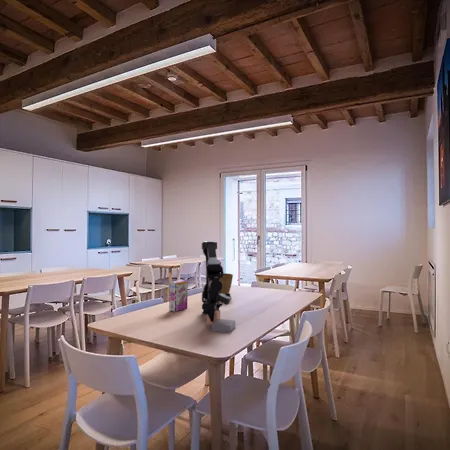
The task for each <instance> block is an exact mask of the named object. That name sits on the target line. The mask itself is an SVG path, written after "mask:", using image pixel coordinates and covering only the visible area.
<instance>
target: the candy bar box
mask: <svg viewBox="0 0 450 450" xmlns="http://www.w3.org/2000/svg"><path fill="white" fill-rule="evenodd" d="M188 288H189V281H188V280H186V279H179V280H176V281H175V280H174V281H170V282H169V297H168V298H169V305H168V311H169V312H173V313H177V312H179V311H180V312H181V311H183V310H186V309H188V291H189V290H188Z"/></svg>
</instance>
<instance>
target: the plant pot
mask: <svg viewBox="0 0 450 450" xmlns="http://www.w3.org/2000/svg"><path fill="white" fill-rule="evenodd" d="M223 273H224V272H223ZM220 276H221V273H220ZM233 278H234V274H233V273H224V275H223V278H220V281H221V283H222V289H221V293H222V294H227V293H230V291H231V287H232V282H233Z"/></svg>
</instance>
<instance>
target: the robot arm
mask: <svg viewBox="0 0 450 450" xmlns="http://www.w3.org/2000/svg"><path fill="white" fill-rule="evenodd" d="M201 250H202V254H203V255H204V256H205V283H204V286H203V287H202V288H203V289H202V292H201V302H202V305H201V310H202V314H208V316H209V318H210V320H211V322H213V321H214V314H215V311H216V310H220V308H221V307H222V306H223V304H224V305H225V306H228V305H229V304H230V303H231V300H232V296H231V293H230V292H229V293H227V294H222V293H221V289H222V283H221V281H220V278H223V275H224V267H223V266H222V265H221V262H220V260H219V259H218V257H217V250H218V242H217V241H214V240H208V241H207V240H204V241H203V242H202V243H201ZM220 273H221V276H220Z"/></svg>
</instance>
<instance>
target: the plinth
mask: <svg viewBox="0 0 450 450" xmlns="http://www.w3.org/2000/svg"><path fill="white" fill-rule="evenodd" d="M210 327H211V329H210V330H211V332H222V333H231V332H232V331H233V330H234V329H235V328H236V320H235V319H222V318H220V319H217V320H216V321H214V322H213V323H212V324H211V325H210Z"/></svg>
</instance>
